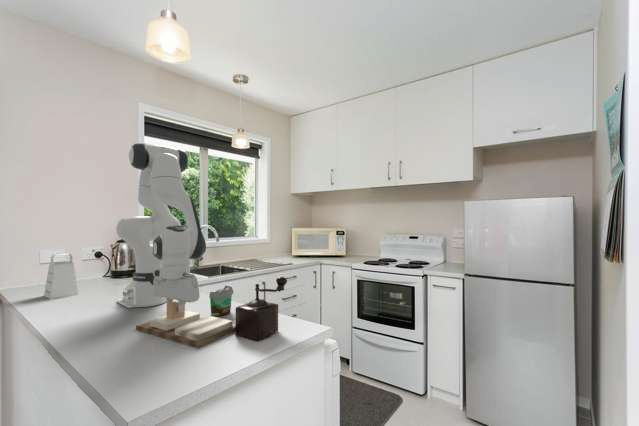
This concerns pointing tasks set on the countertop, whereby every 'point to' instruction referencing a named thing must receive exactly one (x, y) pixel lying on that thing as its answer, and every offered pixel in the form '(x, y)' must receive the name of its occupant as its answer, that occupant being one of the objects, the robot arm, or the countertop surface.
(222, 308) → the food container
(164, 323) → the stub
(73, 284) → the grater
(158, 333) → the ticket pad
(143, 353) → the countertop surface
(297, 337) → the countertop surface
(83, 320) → the countertop surface
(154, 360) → the countertop surface
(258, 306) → the manual coffee grinder
